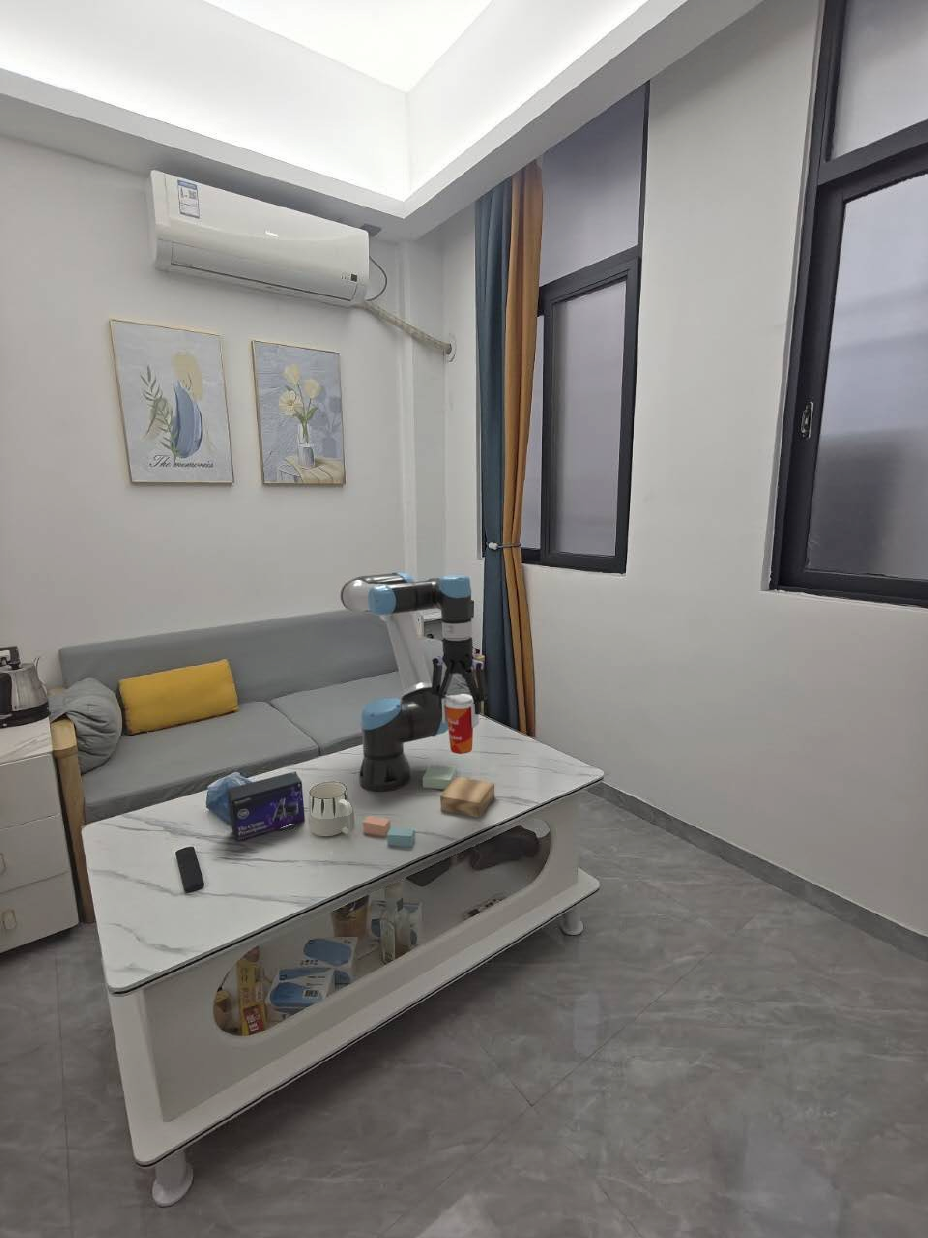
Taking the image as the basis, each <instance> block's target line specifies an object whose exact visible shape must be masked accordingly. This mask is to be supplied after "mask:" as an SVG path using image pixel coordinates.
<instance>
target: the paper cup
mask: <svg viewBox="0 0 928 1238" xmlns="http://www.w3.org/2000/svg"><path fill="white" fill-rule="evenodd" d="M447 696H448V697H447V699H446V702H445V705H446V709H447V719H448V737H449V747H450V751H451V752H452V753H454V754H457V755H458V754H459V755H463V754H464V755H465V754H468V753H470V752H471V751H472V750H473V738H474V735H473V734H474V728H473V727H472V720H471V702H473V698H472V696H471V694H466V693H460V694H453V695H452V694H451V695H447Z"/></svg>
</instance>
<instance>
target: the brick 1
mask: <svg viewBox="0 0 928 1238" xmlns="http://www.w3.org/2000/svg"><path fill="white" fill-rule="evenodd" d="M362 827H363V828H362V829H363V833H364V834H371V835H376V836H381V837H387V833H388V831H389V829H390V827H391V819H390V818H389V819H388V818H384V817H378V816H372V815H368V816H367V817H366V818H365V819H364V820H363V821H362Z"/></svg>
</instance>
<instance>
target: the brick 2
mask: <svg viewBox="0 0 928 1238" xmlns="http://www.w3.org/2000/svg"><path fill="white" fill-rule="evenodd" d="M415 830H416V829H415V828H407V827H406V828H405V827H390V829H389V831H388V833H387V835H386V840H387V841H386V843H387V846H395V847H407V848H412V847H413V845H414V844H415V840H416V833H415Z"/></svg>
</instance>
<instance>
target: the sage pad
mask: <svg viewBox="0 0 928 1238" xmlns="http://www.w3.org/2000/svg"><path fill="white" fill-rule="evenodd" d="M456 777H458V767H457V766H450V765H449V766H448V765H438V764H437V765H436V764H435V765H434V764H430V765H429V767H428V769H427V770H426V772H425V773H424V775H423V777H422V787H423V788H425V789H435V790H436V789H437V790H446V788H447V787H448V786H449V785H450V784H451V783H452V782H453V781H454V780H455V779H456Z"/></svg>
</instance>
